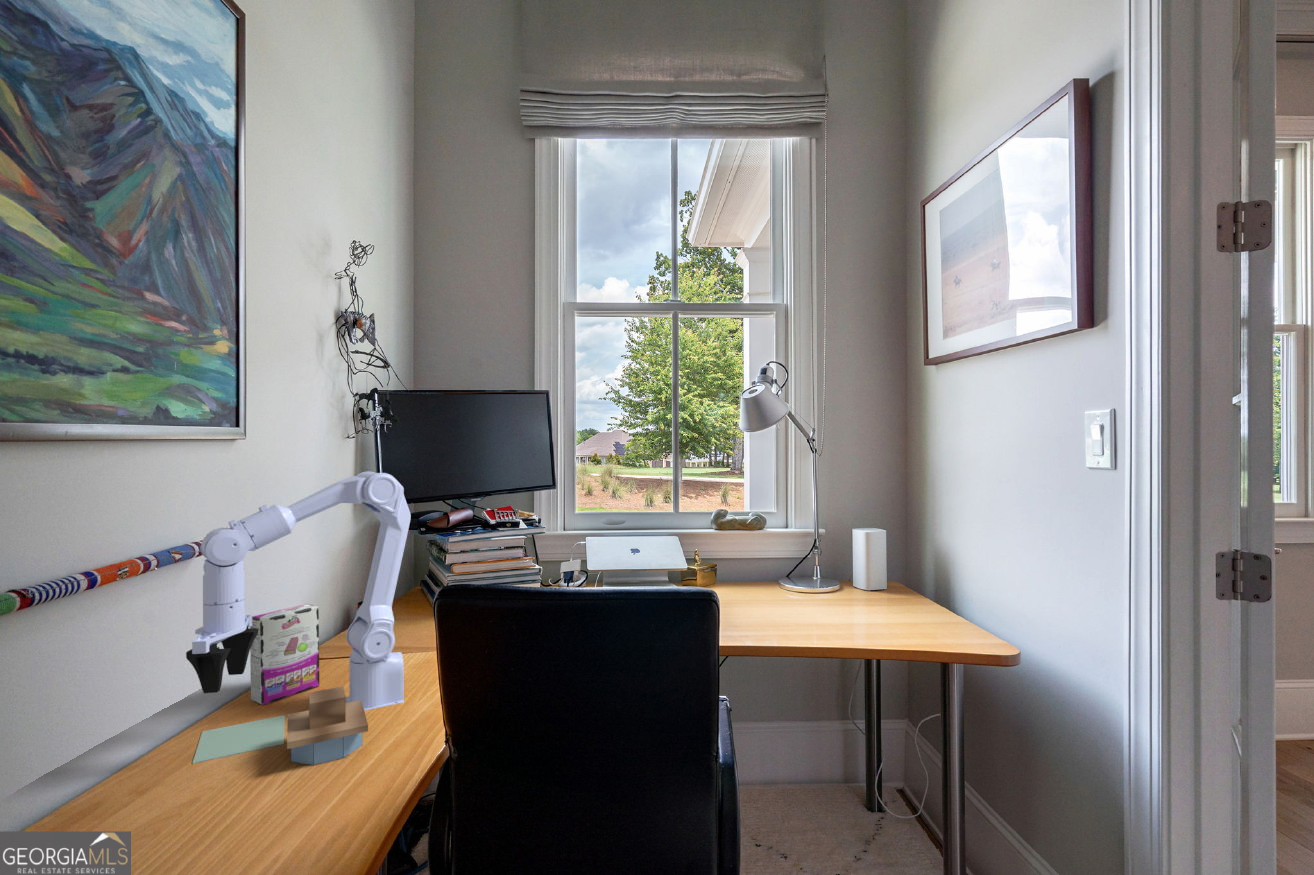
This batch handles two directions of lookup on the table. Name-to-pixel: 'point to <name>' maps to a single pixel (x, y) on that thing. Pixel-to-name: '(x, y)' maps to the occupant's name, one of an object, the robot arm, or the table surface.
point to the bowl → (326, 750)
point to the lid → (326, 719)
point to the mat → (240, 739)
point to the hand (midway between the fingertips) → (224, 682)
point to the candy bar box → (284, 653)
